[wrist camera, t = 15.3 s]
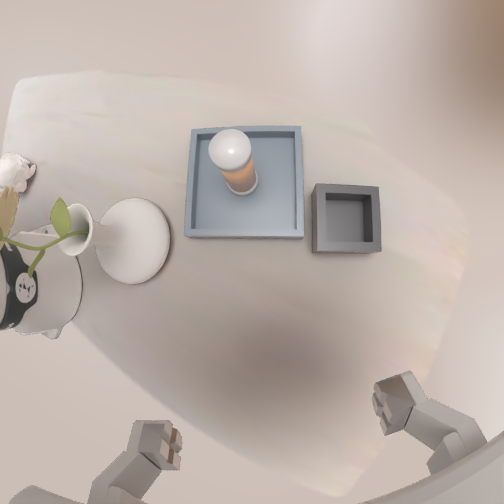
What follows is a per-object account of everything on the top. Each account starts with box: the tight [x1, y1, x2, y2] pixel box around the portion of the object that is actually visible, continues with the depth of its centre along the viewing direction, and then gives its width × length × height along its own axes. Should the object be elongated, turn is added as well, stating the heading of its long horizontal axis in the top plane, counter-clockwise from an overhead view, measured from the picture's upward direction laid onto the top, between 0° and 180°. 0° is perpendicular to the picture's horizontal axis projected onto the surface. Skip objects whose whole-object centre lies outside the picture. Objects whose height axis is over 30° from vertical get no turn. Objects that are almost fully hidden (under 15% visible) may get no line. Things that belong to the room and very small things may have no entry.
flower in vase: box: [0, 187, 170, 284], centre depth 24 cm, size 13×11×25 cm
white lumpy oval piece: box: [0, 152, 36, 193], centre depth 36 cm, size 6×9×12 cm
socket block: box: [312, 184, 381, 253], centre depth 32 cm, size 7×7×4 cm
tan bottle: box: [208, 129, 258, 197], centre depth 30 cm, size 4×4×11 cm
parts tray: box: [184, 126, 304, 239], centre depth 35 cm, size 14×14×2 cm
